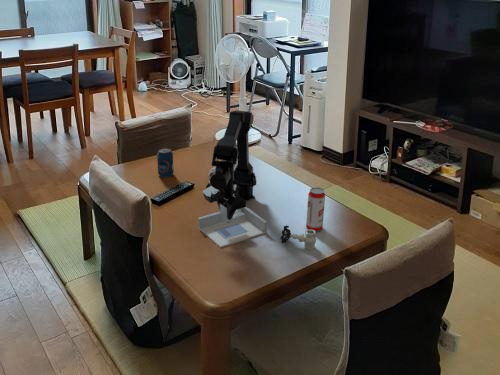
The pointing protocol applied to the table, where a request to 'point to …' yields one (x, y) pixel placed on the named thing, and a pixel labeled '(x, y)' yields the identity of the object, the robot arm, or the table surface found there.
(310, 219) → the beer can
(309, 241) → the valve
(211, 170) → the decorative ornament
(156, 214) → the table surface
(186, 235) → the table surface
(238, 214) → the bracket
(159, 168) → the soda can
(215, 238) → the tray
